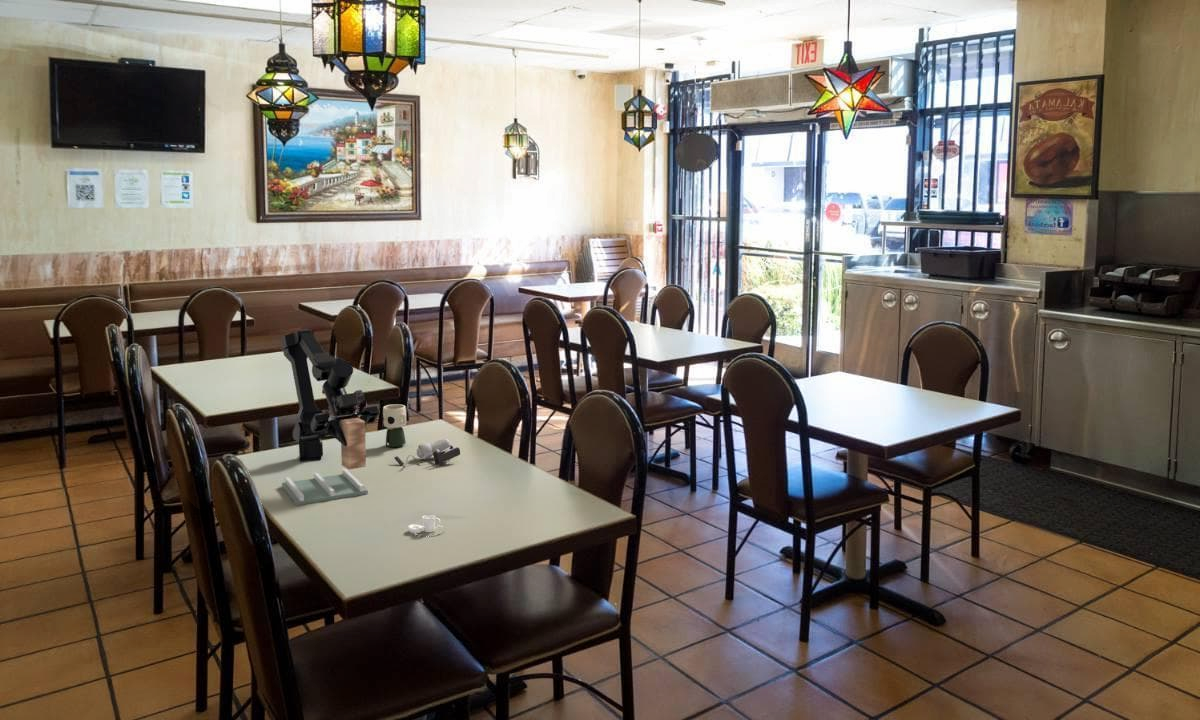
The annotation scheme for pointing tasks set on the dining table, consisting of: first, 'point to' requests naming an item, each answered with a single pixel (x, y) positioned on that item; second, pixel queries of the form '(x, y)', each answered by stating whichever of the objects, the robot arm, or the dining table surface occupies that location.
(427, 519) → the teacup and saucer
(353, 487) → the slot board
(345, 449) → the plug block
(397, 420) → the character mug
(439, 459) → the clip-on lamp
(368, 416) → the robot arm
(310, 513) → the dining table surface
